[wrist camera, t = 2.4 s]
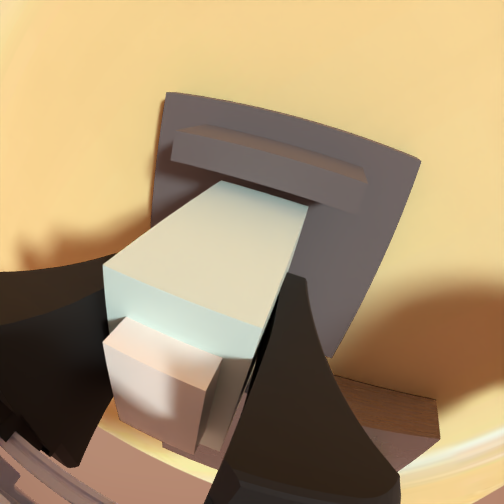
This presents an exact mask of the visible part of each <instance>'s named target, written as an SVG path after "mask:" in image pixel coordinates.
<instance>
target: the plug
mask: <svg viewBox="0 0 504 504" xmlns="http://www.w3.org/2000/svg"><path fill="white" fill-rule="evenodd" d="M308 207H309V206H306V205H302V204H299V203H296V202H293V201H290V200H287V199H283V198H280V197H277V196H274V195H270V194H267V193H264V192H260V191H257V190H254V189H250V188H247V187H244V186H240V185H237V184H233V183H230V182H226V181H222V180H221V181H219V182H218V183H216V184H215V185H213V186H212V187H210V188H209V189H207V190H206V191H204V192H203V193H201V194H200V195H198V196H197V197H195V198H194V199H192V200H191V201H189V202H188V203H187V204H185V205H184V206H182V207H181V208H179V209H178V210H176V211H175V212H174V213H172V214H171V215H169V216H168V217H166V218H165V219H164V220H162V221H161V222H159V223H158V224H157V225H155V226H154V227H152V228H151V229H150V230H148V231H147V232H146V233H144V234H143V235H141V236H140V237H139V238H137V239H136V240H135V241H133V242H132V243H131V244H129V245H128V246H127V247H125V248H124V249H123V250H121V251H120V252H119V253H117V254H116V255H115V256H113V257H112V258H111V259H109V260H108V261H107V262H106V263H104V264H103V277H104V290H105V300H106V310H107V319H108V327H109V334H110V335H109V336H108V337H107V338H106V339H105V340H104V341H103V348H104V353H105V358H106V364H107V368H108V373H109V378H110V383H111V387H112V391H113V396H114V400H115V404H116V408H117V412H118V415H119V419H120V420H121V421H123V422H124V423H126V424H128V425H130V426H132V427H134V428H136V429H138V430H140V431H142V432H144V433H146V434H148V435H150V436H152V437H154V438H156V439H158V440H160V441H162V442H164V443H166V444H169V445H171V446H173V447H175V448H178V449H180V450H182V451H184V452H187V453H189V454H192V455H194V454H195V452H196V450H197V447H198V445H199V444H201V445H204V446H206V447H209V448H211V449H214V450H217V451H219V452H220V449H221V447H222V444H223V442H224V440H225V437H226V435H227V433H228V430H229V428H230V425H231V423H232V421H233V418H234V416H235V413H236V411H237V408H238V406H239V403H240V401H241V399H242V396H243V394H244V391H245V389H246V386H247V384H248V381H249V378H250V376H251V373H252V371H253V368H254V366H255V363H256V359H257V356H258V353H259V350H260V347H261V345H262V342H263V339H264V336H265V333H266V330H267V327H268V324H269V321H270V318H271V315H272V312H273V309H274V307H275V304H276V301H277V298H278V295H279V291H280V288H281V286H282V283H283V281H284V278H285V276H286V273H287V272H288V270H289V267H290V264H291V261H292V258H293V255H294V252H295V249H296V246H297V242H298V239H299V236H300V233H301V230H302V227H303V223H304V220H305V217H306V214H307V210H308Z"/></svg>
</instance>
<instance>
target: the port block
mask: <svg viewBox="0 0 504 504" xmlns="http://www.w3.org/2000/svg"><path fill="white" fill-rule="evenodd" d="M253 370H254V368H253ZM252 374H253V371H252V373H251V376H250V378H249V381H248V384H247V386H246V389H245V391H244V394H243V396H242V399H241V401H240V403H239V406H238V408H237V411H236V413H235V416H234V418H233V421H232V423H231V425H230V428H229V430H228V433H227V435H226V437H225V440H224V442H223V444H222V447H221V449H220V452H219V451H217V450H214V449H211V448H209V447H206V446H204V445H201V444H199V445H198V447H197V450H196V452H195V454H194V455H192V454H189V453H187V452H184V451H182V450H180V449H178V448H175V447H173V446H171V445H169V444H166V443H164V442H162V445H163V448H166V449H168V450H170V451H172V452H175V453H177V454H179V455H182V456H184V457H186V458H189V459H191V460H194V461H196V462H199V463H201V464H204V465H206V466H209V467H212V468H215V469H217V470H219V467H220V465H221V463H222V460H223V458H224V455H225V453H226V451H227V448H228V446H229V443H230V441H231V438H232V436H233V433H234V431H235V428H236V426H237V423H238V421H239V418H240V416H241V413H242V410H243V406H244V403H245V400H246V396H247V392H248V389H249V385H250V381H251V378H252ZM333 376H334V378H335V380H336V382H337V384H338V386H339V388H340V390H341V392H342V394H343V396H344V398H345V399H346V401H347V403H348V405H349V406H350V408H351V410H352V411H353V413H354V415H355V417H356V418H357V420H358V422H359V423H360V424H361V426H362V427H363V429H364V430H365V432H366V433H367V435H368V436H369V438H370V439H371V440H372V442H373V443H374V445H375V446H376V447H377V448H378V449H379V451H380V452H381V453H382V454H383V456H384V457H385V458H386V459H387V460H388V462H389V463H390V464H391V465H392V467H393V468H394V469H395V470H396V471H397V472H398V471H399V470H401V469H402V468H404V467H405V466H406V465H408V464H409V463H411V462H412V461H413V460H415V459H416V458H417V457H419V456H420V455H421V454H423V453H424V452H425V451H426V450H428V449H429V448H430V447H431V446H433V445H434V444H435V443H436V442H438V441H439V440H440V430H439V421H438V413H437V406H436V400H434V399H429V398H424V397H419V396H414V395H410V394H405V393H401V392H397V391H392V390H388V389H384V388H380V387H376V386H372V385H368V384H364V383H360V382H357V381H353V380H349V379H346V378H342V377H338V376H335V375H333Z"/></svg>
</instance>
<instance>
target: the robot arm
mask: <svg viewBox="0 0 504 504" xmlns="http://www.w3.org/2000/svg"><path fill="white" fill-rule="evenodd" d="M116 254H117V253H115V254H112V255H108V256H105V257H101V258H98V259H94V260H90V261H86V262H82V263H77V264H72V265H67V266H61V267H54V268H46V269H39V270H30V271H16V272H0V446H1V447H2V448H3V449H4V450H5V451H6V452H8V454H10V455H11V456H12V457H13V458H14V459H15V460H16V461H17V462H18V463H20V464H21V465H22V466H23V467H24V468H25V469H27V470H28V471H29V472H30V473H31V474H33V475H34V476H35V477H36V478H37V479H39V480H40V481H41V482H42V483H44V484H45V485H46V486H48V487H49V488H50V489H52V490H53V491H54V492H56V493H57V494H58V495H60V496H61V497H63V498H64V499H65V500H67V501H69V502H70V503H71V504H117V503H116V502H114V501H112V500H110V499H109V498H107V497H105V496H103V495H101V494H100V493H98V492H97V491H95V490H93V489H91V488H90V487H88V486H87V485H85V484H84V483H82V482H81V481H79V480H78V479H76V478H75V477H73V476H72V475H70V474H69V473H67V472H66V471H65V470H63V469H62V468H60V467H59V466H58V465H56V464H55V463H54V462H52V461H51V460H50V459H48V458H47V457H46V456H44V455H43V454H42V453H41V452H39V451H40V450H42V451H43V452H45V453H46V454H47V455H48V456H49V457H51V456H52V457H54V458H55V459H56V460H58V461H59V462H60V463H62V464H63V465H64V466H66V467H68V468H73V467H77V466H79V465H80V462H81V460H82V457H83V455H84V453H85V451H86V448H87V446H88V444H89V442H90V440H91V437H92V435H93V433H94V431H95V429H96V427H97V425H98V423H99V421H100V420H101V418H102V416H103V414H104V412H105V410H106V408H107V407H108V405H109V403H110V401H111V399H112V398H113V391H112V387H111V383H110V378H109V373H108V368H107V364H106V358H105V353H104V348H103V341H104V340H105V339H106V338H107V337H108V336H109V335H110V334H109V327H108V319H107V310H106V300H105V290H104V277H103V264H104V263H106V262H107V261H108V260H109V259H111V258H112V257H113V256H115V255H116ZM19 478H20V474H19V473H18V472H17V471H16V470H15V469H14V468H13V467H12V466H11V465H10V464H9V463H8V462H6V461H5V460H4V459H3V458H2V457H1V456H0V504H38V503H37V502H35V501H34V500H33V499H31V498H30V497H29V496H28V495H26V494H25V493H24V492H23V491H22V490H20V489H19V488H18V487H17V486H16V485H15V483H16V482H17V480H18V479H19ZM400 502H401V490H400V475H399V474H398V473H397V471H396V470H395V469H394V468H393V467H392V465H391V464H390V463H389V462H388V460H387V459H386V458H385V457H384V456H383V454H382V453H381V452H380V451H379V449H378V448H377V447H376V446H375V445H374V443H373V442H372V440H371V439H370V438H369V436H368V435H367V433H366V432H365V430H364V429H363V427H362V426H361V424H360V423H359V422H358V420H357V418H356V417H355V415H354V413H353V411H352V410H351V408H350V406H349V405H348V403H347V401H346V399H345V398H344V396H343V394H342V392H341V390H340V388H339V386H338V384H337V382H336V380H335V378H334V376H333V373H332V371H331V369H330V367H329V364H328V362H327V359H326V357H325V354H324V351H323V349H322V346H321V343H320V340H319V337H318V333H317V330H316V326H315V323H314V319H313V315H312V311H311V306H310V301H309V295H308V286H307V281H306V279H305V278H304V277H301V276H298V275H295V274H292V273H289V272H287V273H286V276H285V278H284V281H283V283H282V286H281V288H280V291H279V295H278V298H277V301H276V304H275V307H274V309H273V312H272V315H271V318H270V321H269V324H268V327H267V330H266V333H265V336H264V339H263V342H262V345H261V347H260V350H259V353H258V356H257V359H256V363H255V366H254V370H253V374H252V378H251V381H250V385H249V389H248V392H247V396H246V400H245V403H244V406H243V410H242V413H241V416H240V418H239V421H238V423H237V426H236V428H235V431H234V433H233V436H232V438H231V441H230V443H229V446H228V448H227V451H226V453H225V455H224V458H223V460H222V463H221V465H220V467H219V470H218V472H217V474H216V477H215V479H214V481H213V484H212V486H211V488H210V491H209V493H208V495H207V497H206V500H205V502H204V504H400Z"/></svg>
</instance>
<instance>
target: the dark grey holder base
mask: <svg viewBox="0 0 504 504" xmlns="http://www.w3.org/2000/svg"><path fill="white" fill-rule="evenodd" d="M420 164H421V161H420V160H419V159H418V158H416V157H414V156H411V155H409V154H407V153H404V152H402V151H399V150H396V149H394V148H391V147H389V146H386V145H383V144H381V143H378V142H375V141H372V140H370V139H367V138H364V137H361V136H358V135H355V134H352V133H349V132H346V131H343V130H340V129H337V128H334V127H330V126H327V125H324V124H321V123H317V122H314V121H310V120H307V119H303V118H299V117H296V116H292V115H288V114H284V113H280V112H276V111H272V110H268V109H264V108H259V107H255V106H250V105H246V104H241V103H236V102H231V101H226V100H221V99H215V98H209V97H204V96H197V95H191V94H184V93H177V92H166V98H165V104H164V110H163V116H162V123H161V130H160V137H159V145H158V153H157V161H156V170H155V180H154V190H153V202H152V214H151V228H152V227H154V226H155V225H157V224H158V223H159V222H161V221H162V220H164V219H165V218H166V217H168V216H169V215H171V214H172V213H174V212H175V211H176V210H178V209H179V208H181V207H182V206H184V205H185V204H187V203H188V202H189V201H191V200H192V199H194V198H195V197H197V196H198V195H200V194H201V193H203V192H204V191H206V190H207V189H209V188H210V187H212V186H213V185H215V184H216V183H218V182H219V181H221V180H222V181H226V182H230V183H233V184H237V185H240V186H244V187H247V188H250V189H254V190H257V191H260V192H264V193H267V194H270V195H274V196H277V197H280V198H283V199H287V200H290V201H293V202H296V203H299V204H302V205H306V206H309V207H308V210H307V214H306V217H305V220H304V223H303V227H302V230H301V233H300V236H299V239H298V242H297V246H296V249H295V252H294V255H293V258H292V261H291V264H290V267H289V270H288V272H289V273H292V274H295V275H298V276H301V277H304V278H305V279H306V281H307V286H308V295H309V301H310V306H311V311H312V315H313V319H314V323H315V326H316V330H317V333H318V337H319V340H320V343H321V346H322V349H323V351H324V354H325V356H326V357H330V358H332V357H333V355H334V353H335V352H336V350H337V348H338V346H339V344H340V343H341V341H342V339H343V337H344V335H345V334H346V332H347V330H348V328H349V326H350V324H351V322H352V321H353V319H354V317H355V315H356V313H357V311H358V309H359V307H360V305H361V303H362V301H363V299H364V297H365V295H366V293H367V291H368V289H369V287H370V285H371V283H372V281H373V279H374V277H375V274H376V272H377V270H378V268H379V266H380V264H381V262H382V259H383V257H384V255H385V253H386V250H387V248H388V246H389V244H390V241H391V239H392V237H393V234H394V232H395V230H396V227H397V225H398V222H399V220H400V217H401V215H402V212H403V210H404V207H405V205H406V202H407V200H408V197H409V194H410V192H411V189H412V186H413V184H414V181H415V178H416V175H417V173H418V170H419V167H420Z"/></svg>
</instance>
